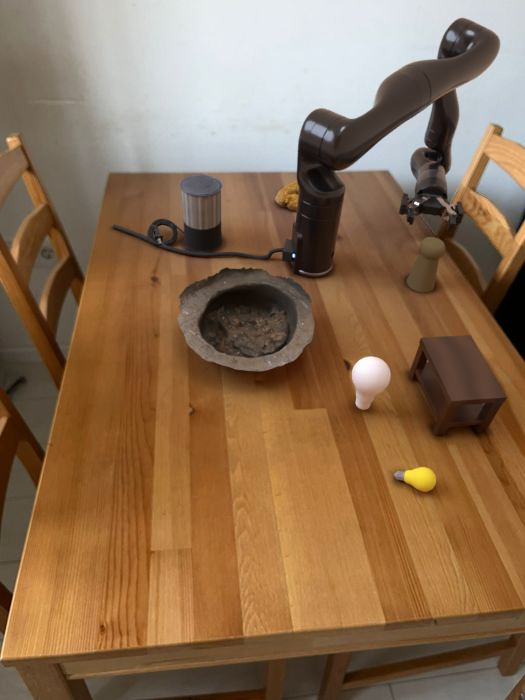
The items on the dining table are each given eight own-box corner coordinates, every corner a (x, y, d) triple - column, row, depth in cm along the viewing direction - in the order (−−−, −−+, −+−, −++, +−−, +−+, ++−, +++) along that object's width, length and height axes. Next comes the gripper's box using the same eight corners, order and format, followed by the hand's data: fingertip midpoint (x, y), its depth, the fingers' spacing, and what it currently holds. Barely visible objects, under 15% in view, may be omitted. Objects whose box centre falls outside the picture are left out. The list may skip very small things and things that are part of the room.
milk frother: (230, 247, 120) (230, 188, 109) (169, 267, 113) (163, 206, 103) (200, 219, 128) (198, 162, 117) (142, 236, 121) (133, 177, 111)
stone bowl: (247, 283, 110) (251, 248, 103) (335, 351, 99) (346, 316, 92) (151, 335, 97) (149, 298, 90) (241, 419, 86) (246, 385, 79)
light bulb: (435, 496, 76) (434, 488, 73) (394, 489, 78) (391, 481, 76) (437, 474, 77) (436, 466, 75) (397, 467, 80) (395, 459, 77)
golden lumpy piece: (272, 194, 139) (273, 177, 135) (312, 194, 140) (314, 177, 136) (277, 213, 132) (278, 196, 128) (319, 212, 133) (321, 195, 130)
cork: (434, 294, 111) (450, 251, 103) (406, 289, 111) (419, 246, 104) (433, 277, 115) (448, 235, 107) (406, 273, 116) (419, 231, 108)
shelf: (435, 436, 84) (451, 401, 77) (407, 373, 94) (420, 337, 87) (486, 432, 85) (507, 397, 79) (454, 370, 95) (470, 334, 88)
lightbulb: (371, 427, 85) (385, 382, 77) (338, 410, 87) (348, 366, 79) (385, 403, 88) (400, 358, 81) (353, 388, 90) (364, 343, 83)
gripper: (405, 172, 124) (402, 204, 113) (465, 180, 122) (469, 214, 111) (398, 200, 130) (395, 233, 118) (455, 208, 128) (458, 243, 116)
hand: (431, 224), depth 115 cm, fingers open, 8 cm apart
